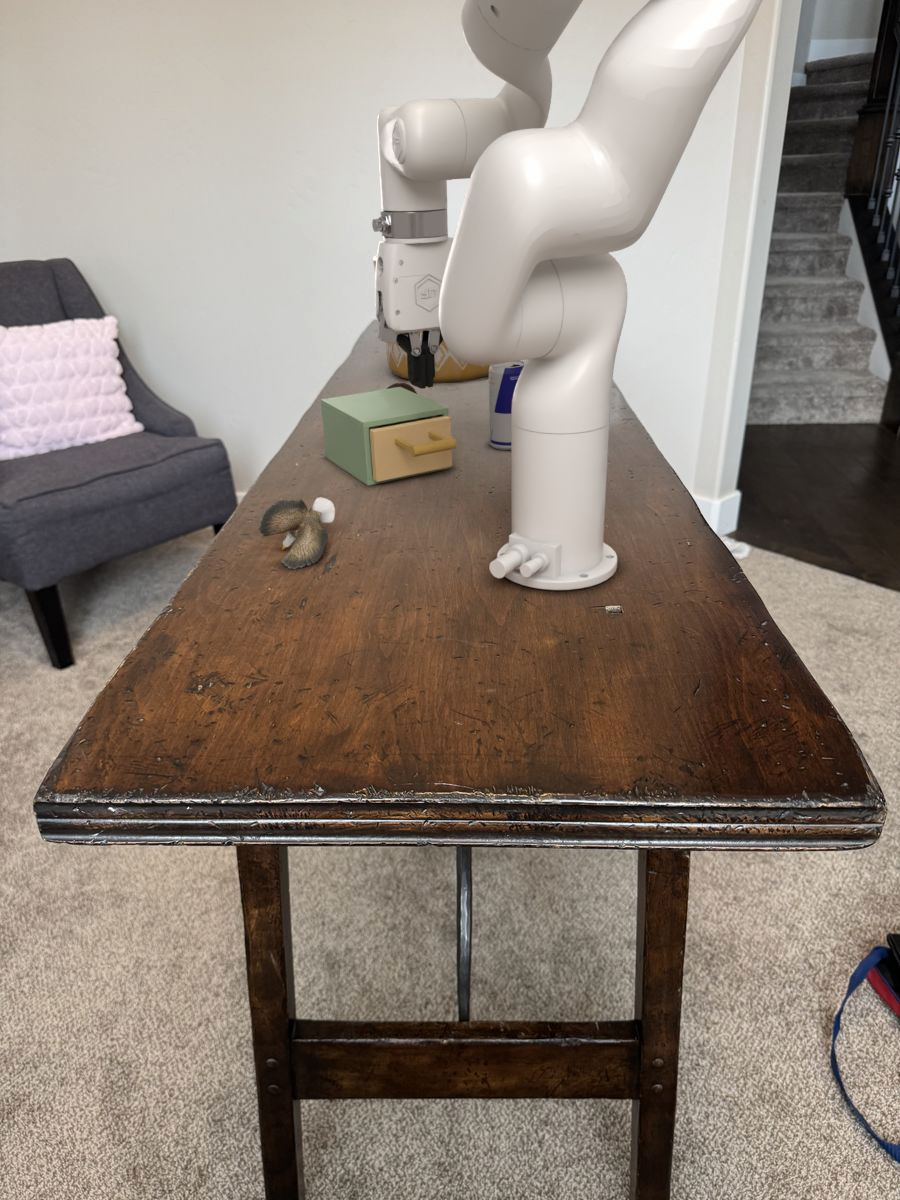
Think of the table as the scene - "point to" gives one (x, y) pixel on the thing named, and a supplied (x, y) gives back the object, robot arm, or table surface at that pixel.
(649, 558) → the table surface
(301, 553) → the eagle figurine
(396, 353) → the planter
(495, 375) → the energy drink
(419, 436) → the drawer
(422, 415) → the cabinet
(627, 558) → the table surface
